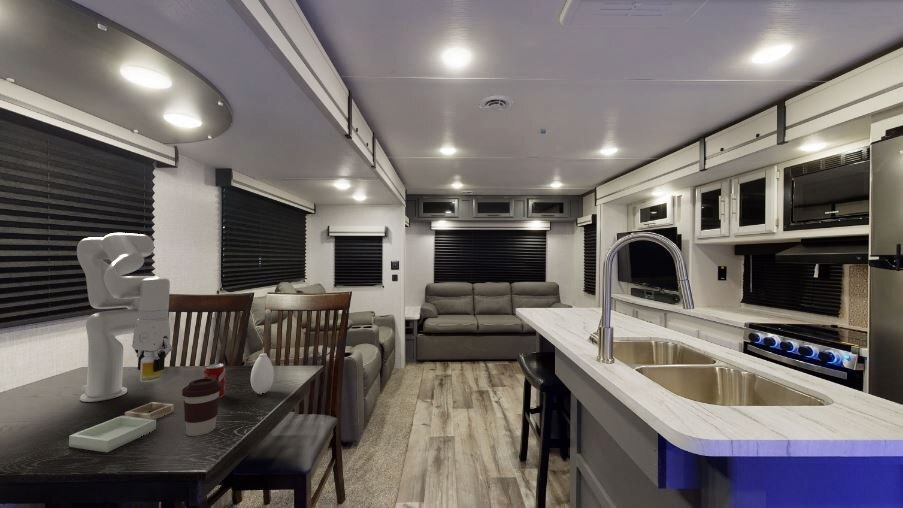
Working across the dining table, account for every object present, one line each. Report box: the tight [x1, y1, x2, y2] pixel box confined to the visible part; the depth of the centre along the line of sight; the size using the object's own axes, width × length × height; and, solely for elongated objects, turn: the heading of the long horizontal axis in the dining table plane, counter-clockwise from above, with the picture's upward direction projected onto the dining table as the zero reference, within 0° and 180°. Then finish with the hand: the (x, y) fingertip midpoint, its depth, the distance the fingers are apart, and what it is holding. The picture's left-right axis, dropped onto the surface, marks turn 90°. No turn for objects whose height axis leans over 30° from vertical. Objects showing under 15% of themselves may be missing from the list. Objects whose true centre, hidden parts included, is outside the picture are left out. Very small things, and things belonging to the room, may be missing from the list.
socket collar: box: [124, 401, 175, 420], centre depth 117 cm, size 9×9×2 cm
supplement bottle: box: [139, 351, 162, 383], centre depth 118 cm, size 5×5×10 cm
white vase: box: [250, 347, 275, 395], centre depth 139 cm, size 8×8×18 cm
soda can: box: [203, 363, 226, 399], centre depth 133 cm, size 7×7×12 cm
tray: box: [68, 415, 157, 453], centre depth 102 cm, size 13×13×3 cm
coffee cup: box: [181, 377, 222, 437], centre depth 108 cm, size 10×10×15 cm
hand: (150, 369), depth 118 cm, fingers closed on supplement bottle, 5 cm apart
